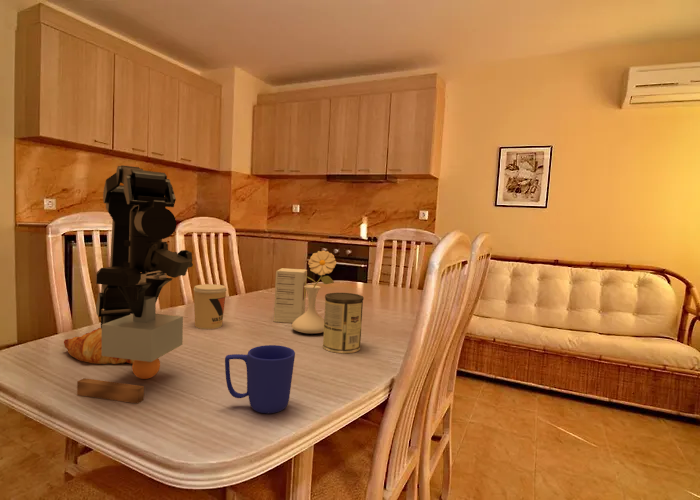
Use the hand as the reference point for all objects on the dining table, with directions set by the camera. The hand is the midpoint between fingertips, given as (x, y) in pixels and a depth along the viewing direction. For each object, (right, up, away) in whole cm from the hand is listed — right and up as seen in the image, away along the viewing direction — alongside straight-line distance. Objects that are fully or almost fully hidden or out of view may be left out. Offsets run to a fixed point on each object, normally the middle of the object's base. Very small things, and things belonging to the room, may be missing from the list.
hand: (143, 315), depth 80 cm
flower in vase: (+29, -12, +43) cm, 54 cm away
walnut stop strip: (-2, -13, -8) cm, 16 cm away
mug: (+24, -15, -8) cm, 30 cm away
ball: (0, -10, +2) cm, 11 cm away
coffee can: (+38, -14, +30) cm, 50 cm away
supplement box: (+20, -11, +57) cm, 61 cm away
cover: (0, -7, +1) cm, 7 cm away
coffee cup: (-2, -10, +43) cm, 44 cm away
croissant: (-15, -12, +11) cm, 22 cm away
